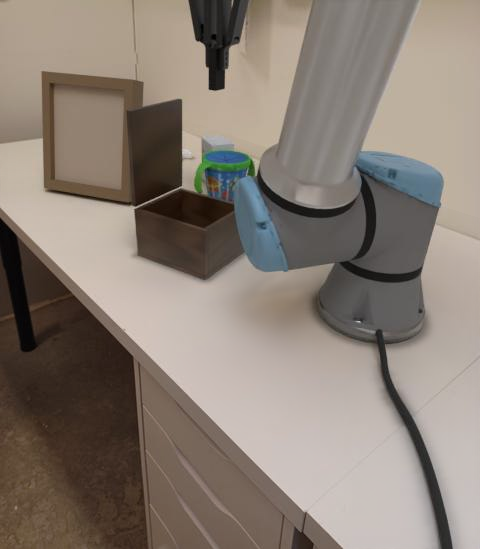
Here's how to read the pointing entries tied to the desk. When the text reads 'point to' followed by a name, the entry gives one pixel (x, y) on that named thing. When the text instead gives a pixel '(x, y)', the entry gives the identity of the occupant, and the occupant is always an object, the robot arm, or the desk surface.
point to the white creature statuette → (186, 154)
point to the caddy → (188, 232)
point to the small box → (215, 146)
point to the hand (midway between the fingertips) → (216, 89)
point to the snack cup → (223, 172)
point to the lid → (155, 150)
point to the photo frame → (88, 133)
